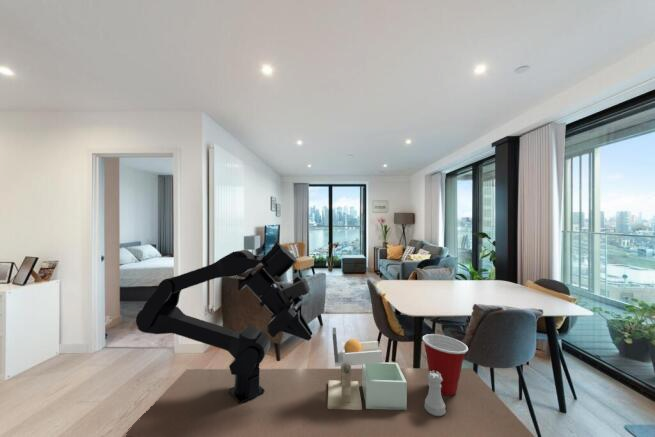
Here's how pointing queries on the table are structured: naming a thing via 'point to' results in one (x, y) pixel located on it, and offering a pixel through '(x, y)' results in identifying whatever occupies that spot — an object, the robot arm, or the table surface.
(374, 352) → the chute
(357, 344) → the ball
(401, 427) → the table surface
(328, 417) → the table surface
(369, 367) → the pale green open box
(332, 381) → the stand
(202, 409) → the table surface
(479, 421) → the table surface
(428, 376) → the rook chess piece
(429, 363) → the plastic cup
